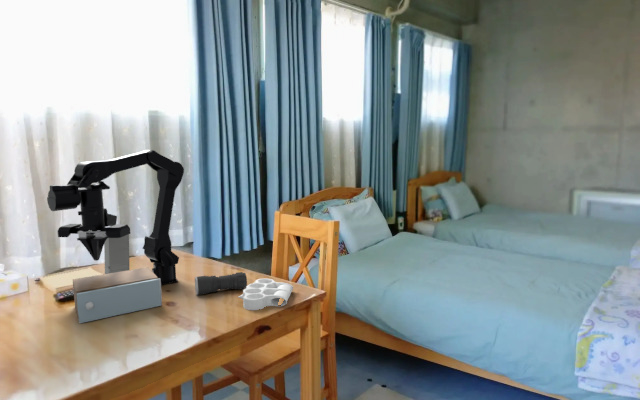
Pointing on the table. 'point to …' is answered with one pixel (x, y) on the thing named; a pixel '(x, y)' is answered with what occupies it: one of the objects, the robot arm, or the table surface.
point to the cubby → (110, 281)
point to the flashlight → (220, 283)
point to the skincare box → (116, 254)
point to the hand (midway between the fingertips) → (96, 260)
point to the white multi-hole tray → (265, 294)
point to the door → (118, 300)
